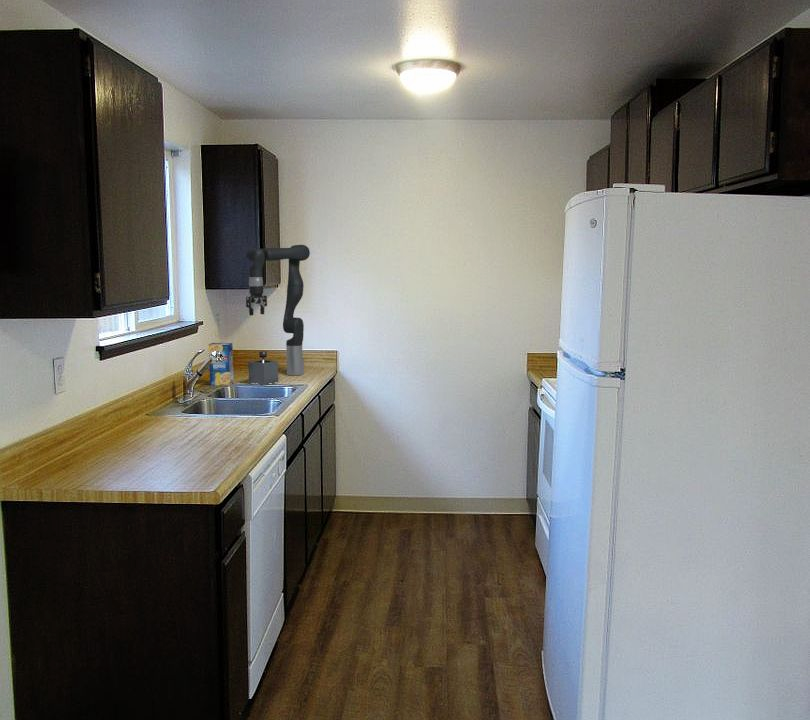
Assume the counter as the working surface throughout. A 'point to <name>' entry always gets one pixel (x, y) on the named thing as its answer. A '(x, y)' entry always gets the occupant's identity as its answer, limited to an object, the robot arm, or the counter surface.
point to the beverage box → (221, 364)
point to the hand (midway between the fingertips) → (256, 314)
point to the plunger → (262, 355)
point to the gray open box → (263, 371)
